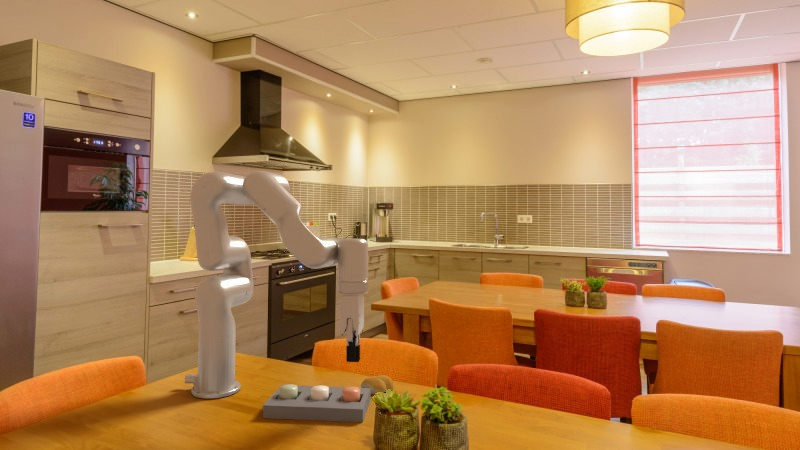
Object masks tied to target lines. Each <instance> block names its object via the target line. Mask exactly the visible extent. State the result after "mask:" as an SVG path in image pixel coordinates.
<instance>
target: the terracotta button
mask: <svg viewBox="0 0 800 450" xmlns="http://www.w3.org/2000/svg"><path fill="white" fill-rule="evenodd" d="M360 388H361V387H358V386H345V388H343V391H342V401H344V402H360Z"/></svg>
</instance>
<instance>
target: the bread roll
mask: <svg viewBox="0 0 800 450" xmlns="http://www.w3.org/2000/svg"><path fill="white" fill-rule="evenodd" d="M360 388H371V395H373V394H375V393H377V392H385V391H386V390H388V389H391V391H393V390H394V381H393V380H392V379H391V377H390V376H388V375H386V374H379V375H375V376H370V377H367V378H364V379H363V380H362V382H361V385H360ZM375 395H376V394H375Z"/></svg>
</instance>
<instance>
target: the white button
mask: <svg viewBox="0 0 800 450" xmlns="http://www.w3.org/2000/svg"><path fill="white" fill-rule="evenodd" d="M329 387H330V386H327V385H321V384H320V385H314V387H312V388H311V400H319V401H328V400H329Z"/></svg>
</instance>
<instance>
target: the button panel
mask: <svg viewBox="0 0 800 450" xmlns="http://www.w3.org/2000/svg"><path fill="white" fill-rule="evenodd" d="M283 385H284V384H282V385H280V387H281V386H283ZM297 386H298V392H297V399H296V400H294V399H280V387H278V389H277V390H275V392H274V393H273V394H272V395H271V396H270V397H269V399H267V400H266V402H265V403H263V405H262V418H264V419H279V420H280V419H282V420H283V419H285V420H300V421H301V420H306V421H327V422H329V421H330V422H347V423H348V422H353V423H363V422H364V420H365V417H366V413H367V411H368V408H369V405H370V402H371V395H372V394H371V388H361V387H359V388H360V402H344V401H342V391H343V388H345V387H346V386H345V387H343V386H340V387H339V386H328V387H329V400H328V401H319V400H311V388H312V387H314V386H315V385H314V386H313V385H297Z"/></svg>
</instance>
